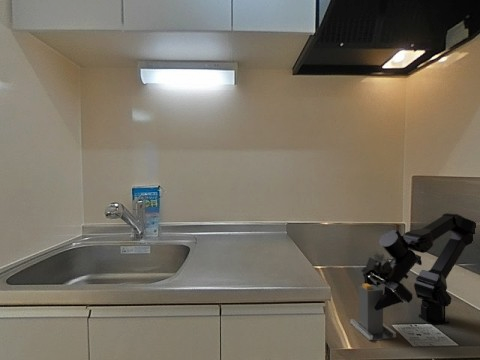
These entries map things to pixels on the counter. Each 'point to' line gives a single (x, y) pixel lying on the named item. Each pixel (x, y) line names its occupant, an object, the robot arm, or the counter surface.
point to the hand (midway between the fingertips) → (367, 304)
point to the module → (370, 308)
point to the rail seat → (371, 337)
